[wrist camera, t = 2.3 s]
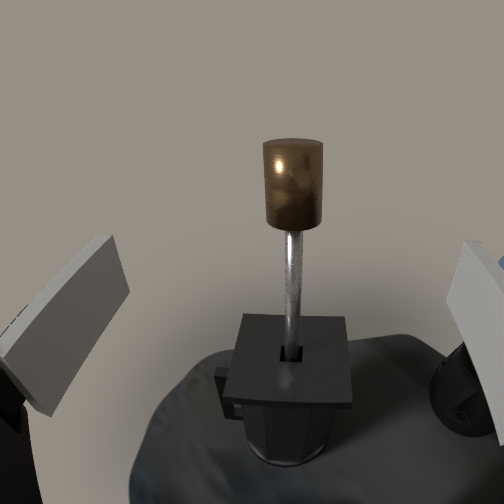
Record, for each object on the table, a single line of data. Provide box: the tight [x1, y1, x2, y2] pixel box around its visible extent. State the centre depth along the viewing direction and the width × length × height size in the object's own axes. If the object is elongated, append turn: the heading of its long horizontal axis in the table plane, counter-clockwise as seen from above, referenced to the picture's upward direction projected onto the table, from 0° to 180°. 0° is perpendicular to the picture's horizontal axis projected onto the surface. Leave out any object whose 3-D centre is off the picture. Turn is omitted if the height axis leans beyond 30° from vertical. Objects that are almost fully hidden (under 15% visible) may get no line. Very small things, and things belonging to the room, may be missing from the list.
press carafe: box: [214, 314, 353, 467], centre depth 31 cm, size 13×10×16 cm
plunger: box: [263, 138, 323, 363], centre depth 23 cm, size 7×7×22 cm
